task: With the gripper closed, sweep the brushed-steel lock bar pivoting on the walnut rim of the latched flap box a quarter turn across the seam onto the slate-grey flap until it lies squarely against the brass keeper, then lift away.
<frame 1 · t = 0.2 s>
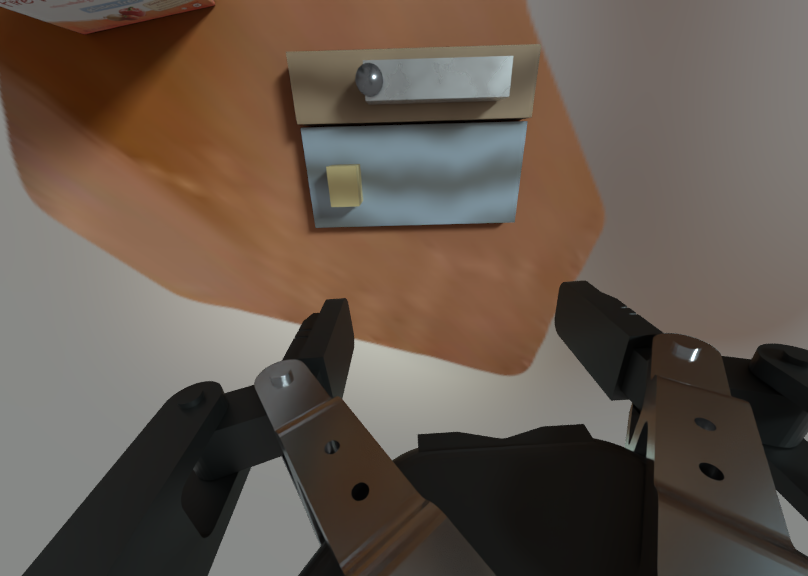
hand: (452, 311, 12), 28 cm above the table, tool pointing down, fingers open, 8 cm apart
latched flap box: (413, 147, 35), on the table
lock bar: (432, 81, 28), point 5 cm above the table, hinge at 90.0°
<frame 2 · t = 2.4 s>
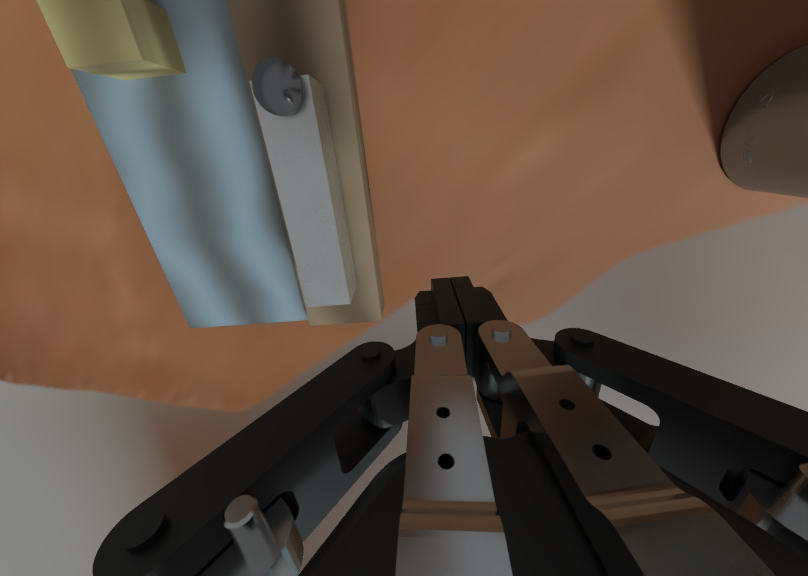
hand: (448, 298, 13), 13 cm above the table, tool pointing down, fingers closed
latched flap box: (254, 172, 23), on the table
lock bar: (311, 199, 19), point 5 cm above the table, hinge at 90.0°
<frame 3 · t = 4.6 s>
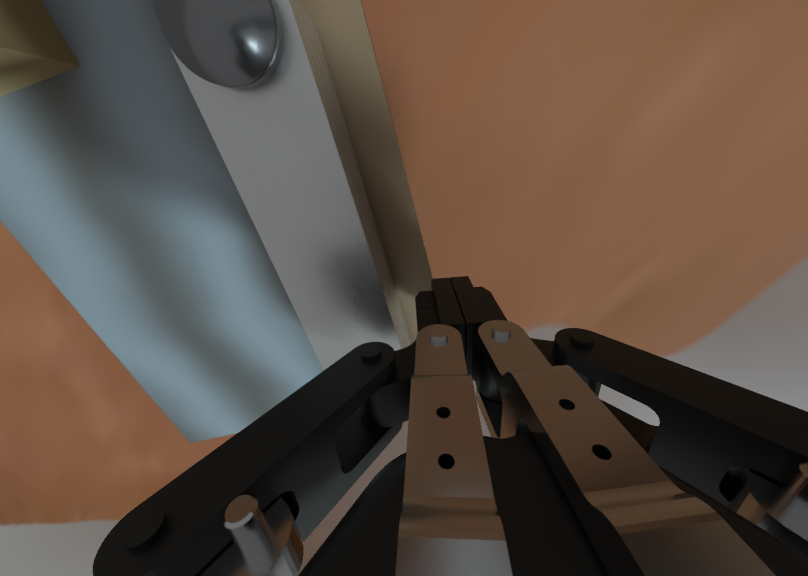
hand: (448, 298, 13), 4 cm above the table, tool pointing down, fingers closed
latched flap box: (233, 210, 15), on the table
lock bar: (328, 244, 10), point 5 cm above the table, hinge at 89.0°, touching gripper
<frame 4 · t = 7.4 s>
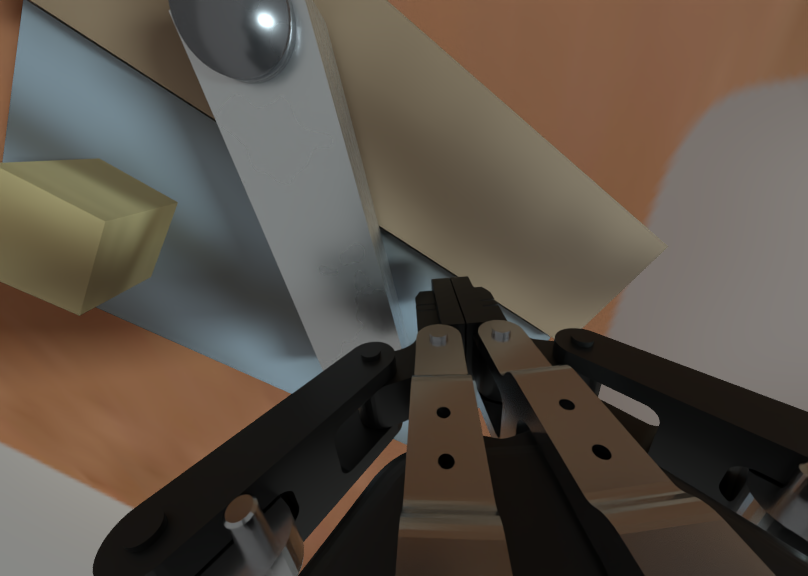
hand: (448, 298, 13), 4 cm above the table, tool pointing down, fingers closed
latched flap box: (333, 237, 15), on the table
lock bar: (331, 242, 10), point 5 cm above the table, hinge at 46.5°, touching gripper
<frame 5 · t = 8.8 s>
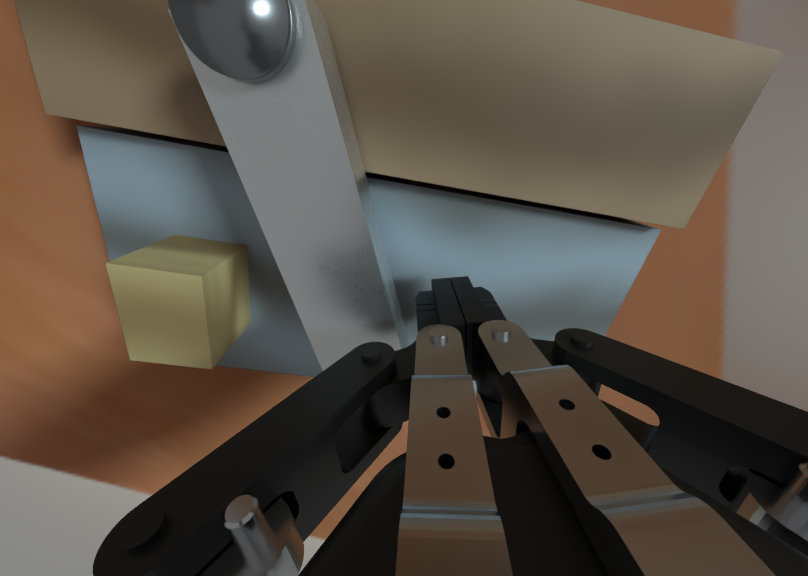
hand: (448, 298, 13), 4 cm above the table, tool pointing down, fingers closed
latched flap box: (388, 223, 15), on the table
lock bar: (331, 242, 10), point 5 cm above the table, hinge at 22.3°, touching gripper
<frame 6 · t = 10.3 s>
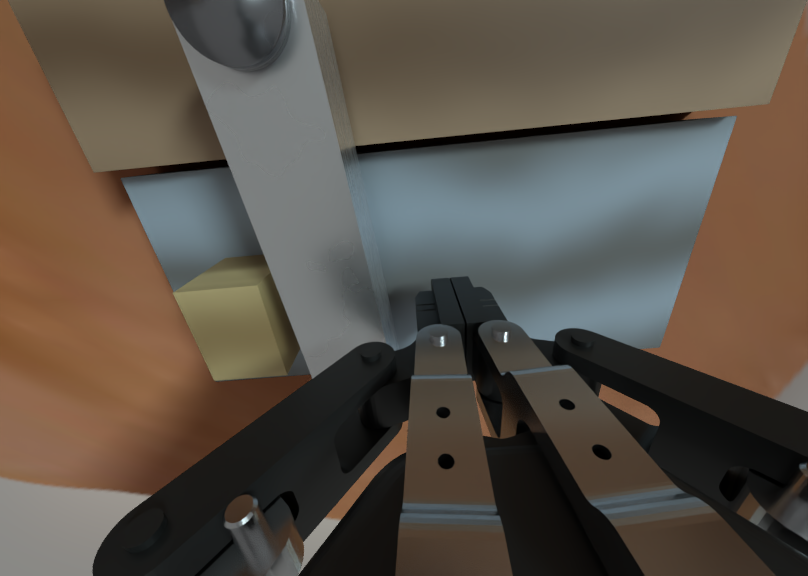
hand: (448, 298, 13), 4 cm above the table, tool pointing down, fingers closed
latched flap box: (419, 197, 15), on the table
lock bar: (321, 237, 10), point 5 cm above the table, hinge at 4.5°
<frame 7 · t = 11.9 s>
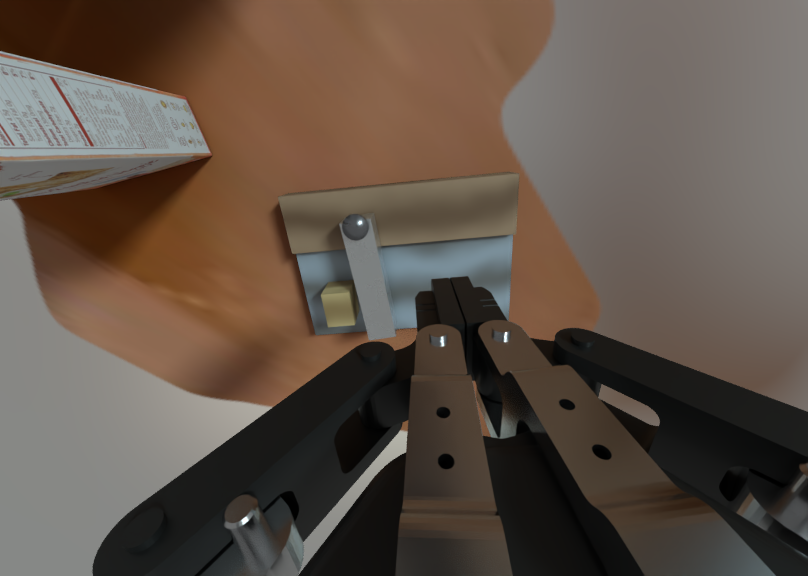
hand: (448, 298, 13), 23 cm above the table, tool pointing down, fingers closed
cracker box: (144, 146, 32), on the table
latched flap box: (404, 257, 36), on the table
lock bar: (370, 277, 32), point 5 cm above the table, hinge at 4.5°
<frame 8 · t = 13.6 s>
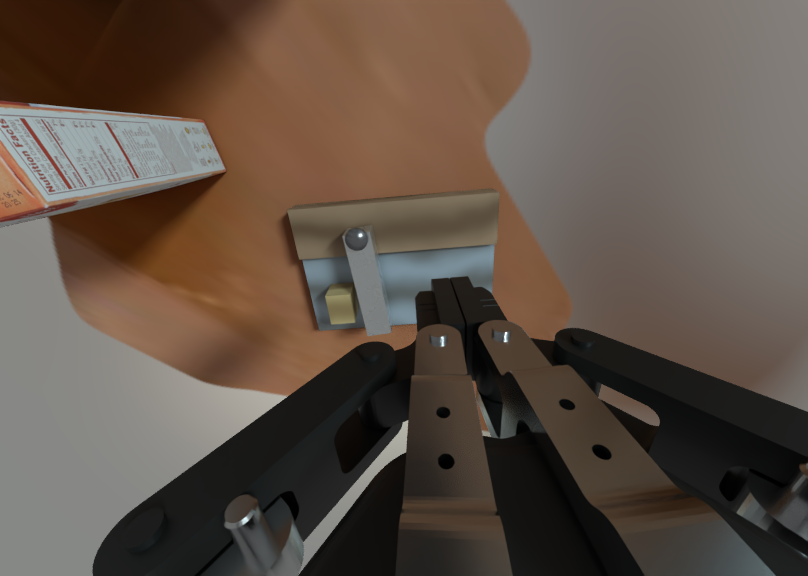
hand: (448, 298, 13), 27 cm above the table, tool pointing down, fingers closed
cracker box: (164, 162, 35), on the table
latched flap box: (399, 262, 41), on the table
lock bar: (369, 281, 36), point 5 cm above the table, hinge at 4.5°
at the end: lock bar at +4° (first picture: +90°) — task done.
